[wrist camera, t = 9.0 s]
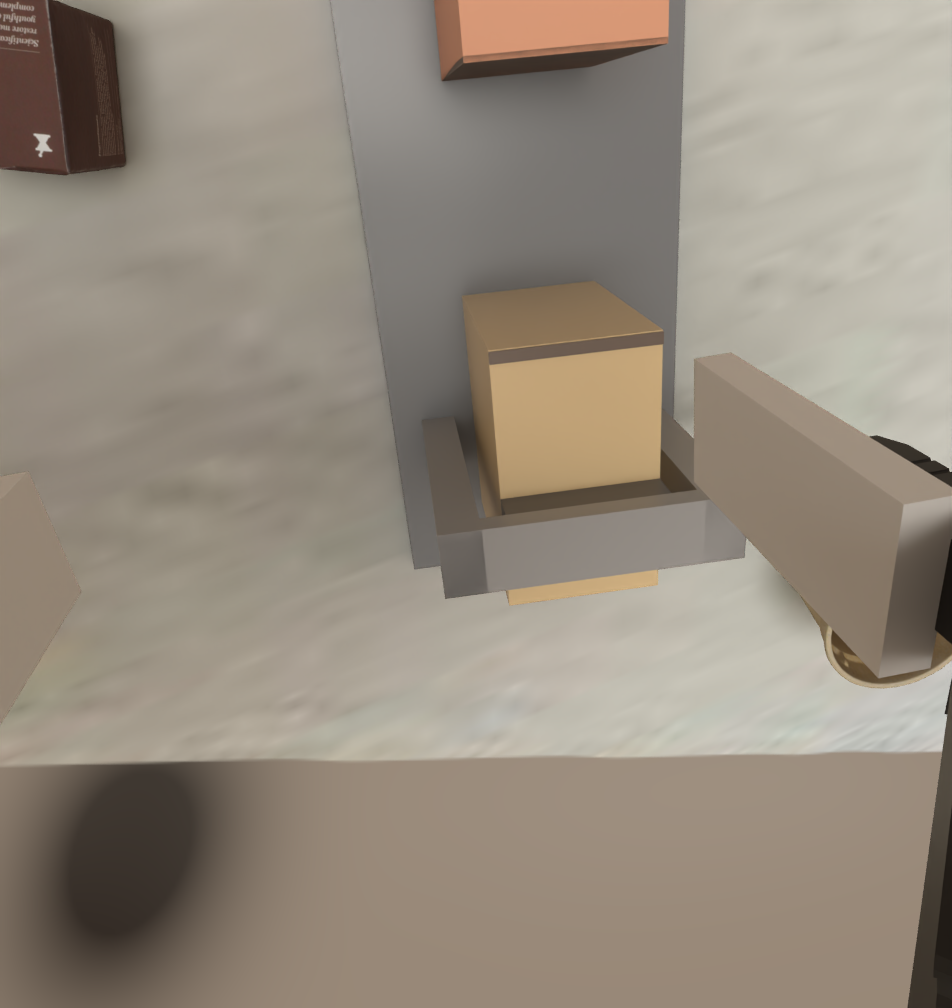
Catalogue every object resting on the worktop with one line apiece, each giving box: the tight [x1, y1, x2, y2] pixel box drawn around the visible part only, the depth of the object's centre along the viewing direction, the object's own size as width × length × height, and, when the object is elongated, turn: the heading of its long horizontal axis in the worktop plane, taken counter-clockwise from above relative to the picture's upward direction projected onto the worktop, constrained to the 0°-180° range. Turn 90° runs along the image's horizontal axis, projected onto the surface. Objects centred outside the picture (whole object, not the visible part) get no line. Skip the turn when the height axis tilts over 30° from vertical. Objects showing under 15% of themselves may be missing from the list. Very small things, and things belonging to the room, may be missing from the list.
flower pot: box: [800, 595, 952, 688], centre depth 46 cm, size 9×9×9 cm
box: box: [0, 0, 125, 175], centre depth 31 cm, size 6×6×7 cm
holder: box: [330, 0, 746, 605], centre depth 34 cm, size 16×32×14 cm, turn 5°
